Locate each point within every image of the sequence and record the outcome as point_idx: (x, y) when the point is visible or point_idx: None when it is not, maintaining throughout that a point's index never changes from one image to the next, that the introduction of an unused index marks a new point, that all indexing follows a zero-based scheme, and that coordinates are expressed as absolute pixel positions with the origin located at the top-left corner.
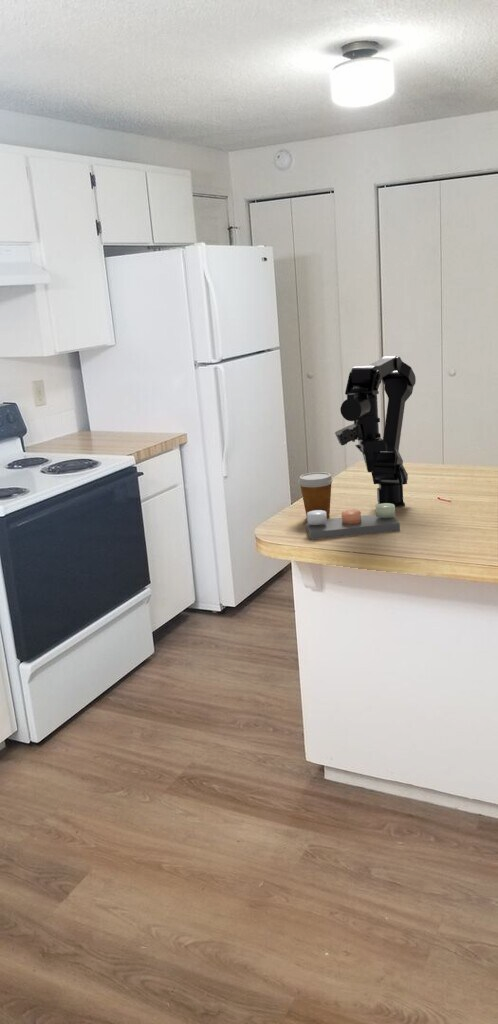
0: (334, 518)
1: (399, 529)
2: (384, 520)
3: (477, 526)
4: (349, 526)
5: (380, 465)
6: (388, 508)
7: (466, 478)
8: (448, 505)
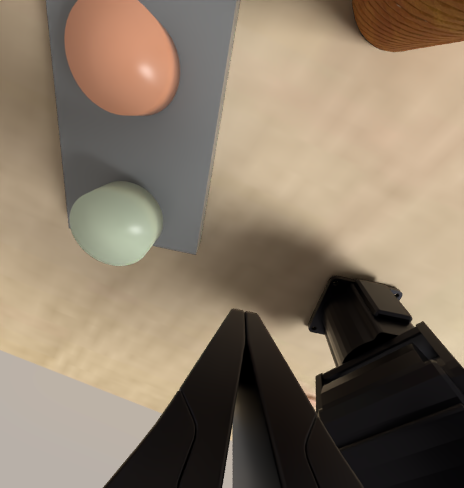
0: (234, 3)
1: None
2: None
3: (68, 361)
4: None
5: (404, 427)
6: (71, 227)
7: None
8: None
